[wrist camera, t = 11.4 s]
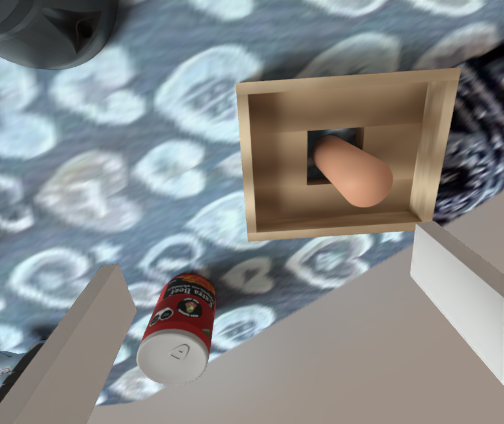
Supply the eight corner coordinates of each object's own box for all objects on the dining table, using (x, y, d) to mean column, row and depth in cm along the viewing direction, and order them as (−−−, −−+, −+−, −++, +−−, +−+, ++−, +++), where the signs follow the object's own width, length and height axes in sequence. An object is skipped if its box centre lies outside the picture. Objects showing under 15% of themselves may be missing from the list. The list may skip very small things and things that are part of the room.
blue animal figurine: (11, 318, 43) (-53, 382, 34) (72, 337, 44) (27, 402, 35) (5, 347, 45) (-57, 414, 36) (64, 364, 47) (19, 432, 37)
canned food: (225, 282, 41) (218, 345, 31) (205, 323, 44) (193, 393, 34) (172, 263, 40) (147, 324, 30) (155, 307, 43) (127, 375, 32)
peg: (311, 136, 34) (343, 160, 23) (346, 134, 34) (396, 157, 22) (310, 170, 35) (340, 208, 24) (344, 168, 35) (390, 205, 24)
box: (237, 83, 31) (235, 83, 26) (426, 70, 31) (461, 67, 26) (247, 220, 37) (248, 241, 32) (405, 210, 37) (430, 229, 32)
